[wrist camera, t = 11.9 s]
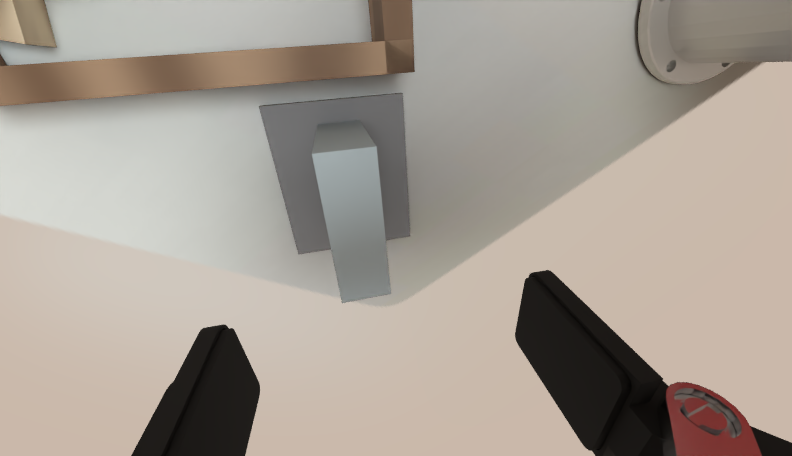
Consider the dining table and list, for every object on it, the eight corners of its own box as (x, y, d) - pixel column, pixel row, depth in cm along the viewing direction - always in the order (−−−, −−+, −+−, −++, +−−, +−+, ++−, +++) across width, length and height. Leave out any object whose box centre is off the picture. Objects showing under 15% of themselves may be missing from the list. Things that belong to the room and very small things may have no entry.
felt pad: (400, 93, 22) (402, 93, 22) (408, 233, 28) (410, 236, 27) (260, 105, 21) (258, 106, 20) (299, 250, 26) (298, 254, 26)
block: (359, 119, 22) (376, 146, 14) (372, 227, 26) (391, 293, 18) (317, 124, 21) (311, 153, 14) (337, 232, 26) (342, 303, 18)
